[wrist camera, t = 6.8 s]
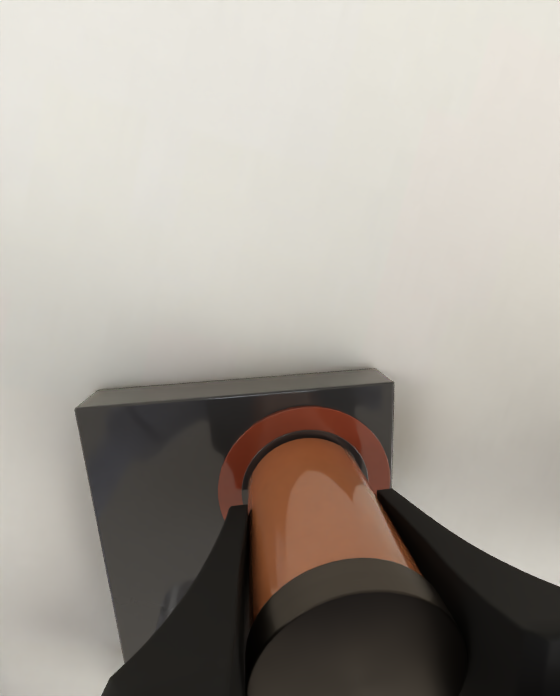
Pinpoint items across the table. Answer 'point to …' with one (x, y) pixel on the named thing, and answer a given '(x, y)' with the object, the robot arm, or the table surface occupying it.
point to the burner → (293, 427)
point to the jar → (338, 587)
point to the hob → (188, 473)
